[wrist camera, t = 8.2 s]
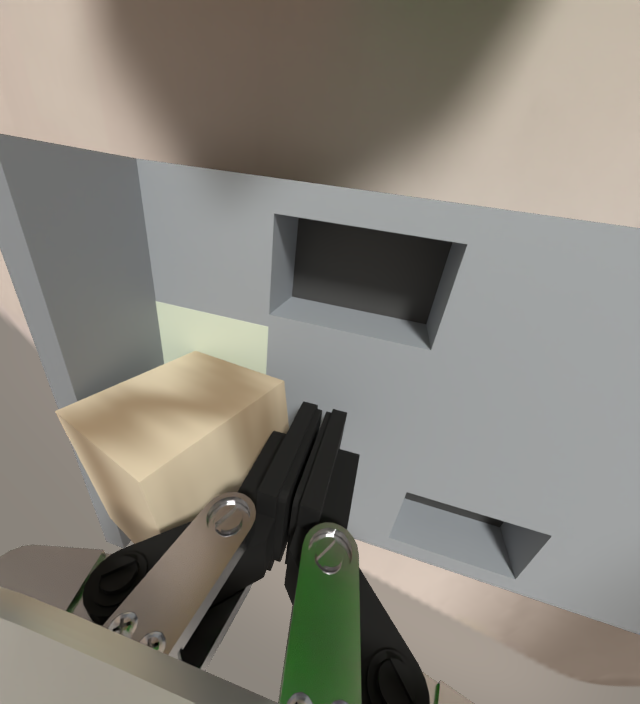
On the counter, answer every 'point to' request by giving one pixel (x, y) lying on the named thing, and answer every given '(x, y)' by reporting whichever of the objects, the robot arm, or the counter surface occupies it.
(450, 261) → the board
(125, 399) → the maple block
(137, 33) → the counter surface
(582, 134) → the counter surface
